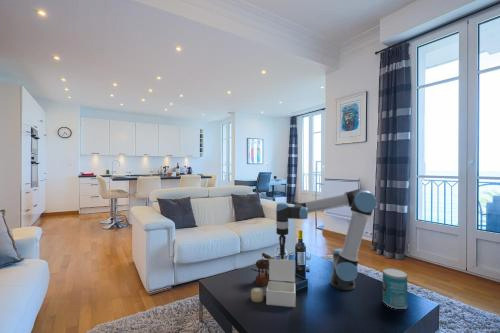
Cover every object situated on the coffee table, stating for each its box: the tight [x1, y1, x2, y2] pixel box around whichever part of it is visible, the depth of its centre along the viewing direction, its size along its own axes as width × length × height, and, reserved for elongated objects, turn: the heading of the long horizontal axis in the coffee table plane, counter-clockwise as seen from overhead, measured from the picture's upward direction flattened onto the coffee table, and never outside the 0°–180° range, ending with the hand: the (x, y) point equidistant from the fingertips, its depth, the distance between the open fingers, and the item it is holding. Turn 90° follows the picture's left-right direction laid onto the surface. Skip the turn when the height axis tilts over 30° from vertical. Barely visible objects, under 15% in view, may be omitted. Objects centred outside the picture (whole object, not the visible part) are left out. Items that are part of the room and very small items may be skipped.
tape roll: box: [250, 287, 264, 303], centre depth 150 cm, size 7×7×5 cm
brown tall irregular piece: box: [250, 252, 274, 287], centre depth 171 cm, size 15×11×20 cm
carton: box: [265, 280, 296, 308], centre depth 148 cm, size 16×12×8 cm
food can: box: [382, 267, 408, 310], centre depth 143 cm, size 12×12×18 cm
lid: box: [268, 258, 296, 283], centre depth 156 cm, size 16×12×1 cm
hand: (282, 264), depth 162 cm, fingers closed
